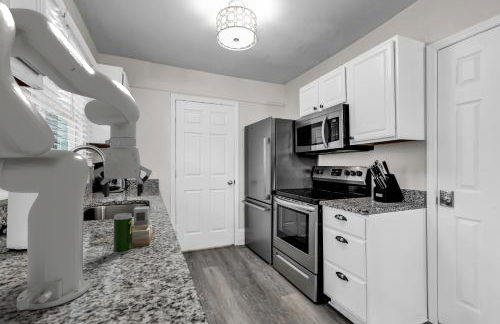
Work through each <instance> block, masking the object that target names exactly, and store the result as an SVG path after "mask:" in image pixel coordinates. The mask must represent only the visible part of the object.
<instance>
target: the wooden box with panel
mask: <svg viewBox="0 0 500 324" xmlns="http://www.w3.org/2000/svg"><path fill="white" fill-rule="evenodd" d="M155 230H156V229H155V227H153V224H150V206H149V205H148V206H144V205H143V206H135V207H134V208H133V225H132V248H133V247H134V248H135V247H144V246H145V247H146V246H150V245H151V242H152V239H153V238H154V235H155Z"/></svg>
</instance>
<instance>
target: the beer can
mask: <svg viewBox="0 0 500 324" xmlns="http://www.w3.org/2000/svg"><path fill="white" fill-rule="evenodd" d="M132 226H133V215H132V213H130V212H121V213H116V214H114V215H113V248H112V249H113V253H114V254H116V255H125V254H128V253H130V252H131V251H132V249H133V247H132Z"/></svg>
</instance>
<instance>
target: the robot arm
mask: <svg viewBox="0 0 500 324" xmlns="http://www.w3.org/2000/svg"><path fill="white" fill-rule="evenodd" d="M11 58H23V59H26V60H28V61H29V63H31V64H32V65H33V66H34V67H35V68H36V69H38V70H39V72H41V73H43V75H45V76H46V78H48V79H49V80H50V81H51V82H52V83H53V84H54V85H55V86H56V87H58V88H59V89H61V90H62V91H65V92H68V93H69V94H74V95H77V96H80V97H84V98H89V99H93V100H89V101H88V102H86V104H85V106H84V109H83V111H84V115H85V118H86V119H87V120H88V121H89V122H91V123H92V124H95V125H98V126H109V127H110V128H109V130H110V131H109V133H110V135H109V139H106V140H104V141H105V142H104V144H105V145H108V146H109V147H107V148H106V152H105V158H104V165H103V166H100V167H98V168H96V169H95V170H93V171H92V174H93V176H94V178H95V179H96V180H97V182H99V183H100V185H101V186H102V189H101V191H102V195H103V198H108V197H110V184H109V182H110V181H112V180H131V179H135V180H136V181H137V183H138V184H137V186H136V187H137V190H136V191H137V192H136V193H137V194H136V195H137V197H141V196H142V194H143V193H144V183H145V182H146V181H147V180H148V179H149V178H150V176H151V175H152V173H153V170H151V169H149V168H147V167H145V166H144V165H141V157H140V151H139V148H137V122H138V120H139V119H140V116H141V115H140V114H141V113H140V108H139V106H138V105H139V104H138V103H137V102H136V100H135V98H134V97H133V96H132V94H131V93H130V92H129V91H128V89H127V88H126V87H125V86H124V85H122V83H120V82H118V81H117V80H115V79H113V78H112V77H110V76H108V75H106V74H104V73H102V72H100V71H99V70H97V69H95V68H93V67H91V66H89V64H88V63H87V62H86V60H84V58H83V57H82V56H81V55H80V53H78V51H77V50H76V49H75V48H74V46H73V45H72V44H71V42H69V41H68V40H67V38H66V37H65V36H64V34H63V33H61V31H60V30H59V29H58V28H57V26H56V25H55V24H54V23H53V22H52V20H50V19H49V18H48V17H47V16H45V15H44V14H43V13H41V12H39V11H38V10H33V9H30V8H24V7H23V8H22V7H21V8H18V7H15V8H13V7H12V8H9V7H8V6H7V4H5V1H3V0H0V189H1V190H3V191H6V192H9V193H17V194H18V193H20V194H38V195H36V196H37V197H36V198H35V199H34V201H33V203H32V204H31V206H30V207H29V210H28V214H27V252H26V253H27V263H26V265H27V266H26V269H27V270H26V276H27V278H26V280H27V281H26V282H27V284H26V289H25V290H23V291H21V293H19V294H18V295H17V297H16V306H15V307H16V308H17V310H19V311H24V310H29V311H30V310H31V311H33V310H41V309H47V308H51V307H52V308H53V307H55V306H56V307H57V306H59V305H63V304H65V303H68V302H70V301H72V300H75V299H76V298H78V297H80V296H82V295H83V294H85V293H86V292H88V290H89V289H90V288H91V284H92V283H91V281H92V279H91V278H90V277H89V276H87V275H84V272H83V271H84V270H83V269H84V268H83V267H84V266H83V265H84V263H83V262H84V202H85V201H84V199H85V193H86V187H87V183H88V178H89V171H90V169H89V163H88V161H87V160H86V158H85V157H84V156H82V155H81V154H79V153H78V152H75V151H72V150H66V149H52V148H53V146H54V145H55V134H54V131H53V130H52V127H51V126H50V124H49V123H48V122H47V120H46V119H45V118H44V117H43V115H42V114H41V112H40V111H39V110H38V109H37V108H36V107H35V105H34V104H33V102H32V101H31V100H30V99H29V98H28V96H27V95H26V93H25V92H24V91H23V90H22V88H21V87H20V85H19V84H18V82H17V81H16V79H15V77H14V75H13V72H12V66H11ZM142 171H143V173H144V172H145V175H144V176H143V177H141V175H142ZM102 172H103V176H104V177H102V176H101V173H102Z"/></svg>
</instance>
